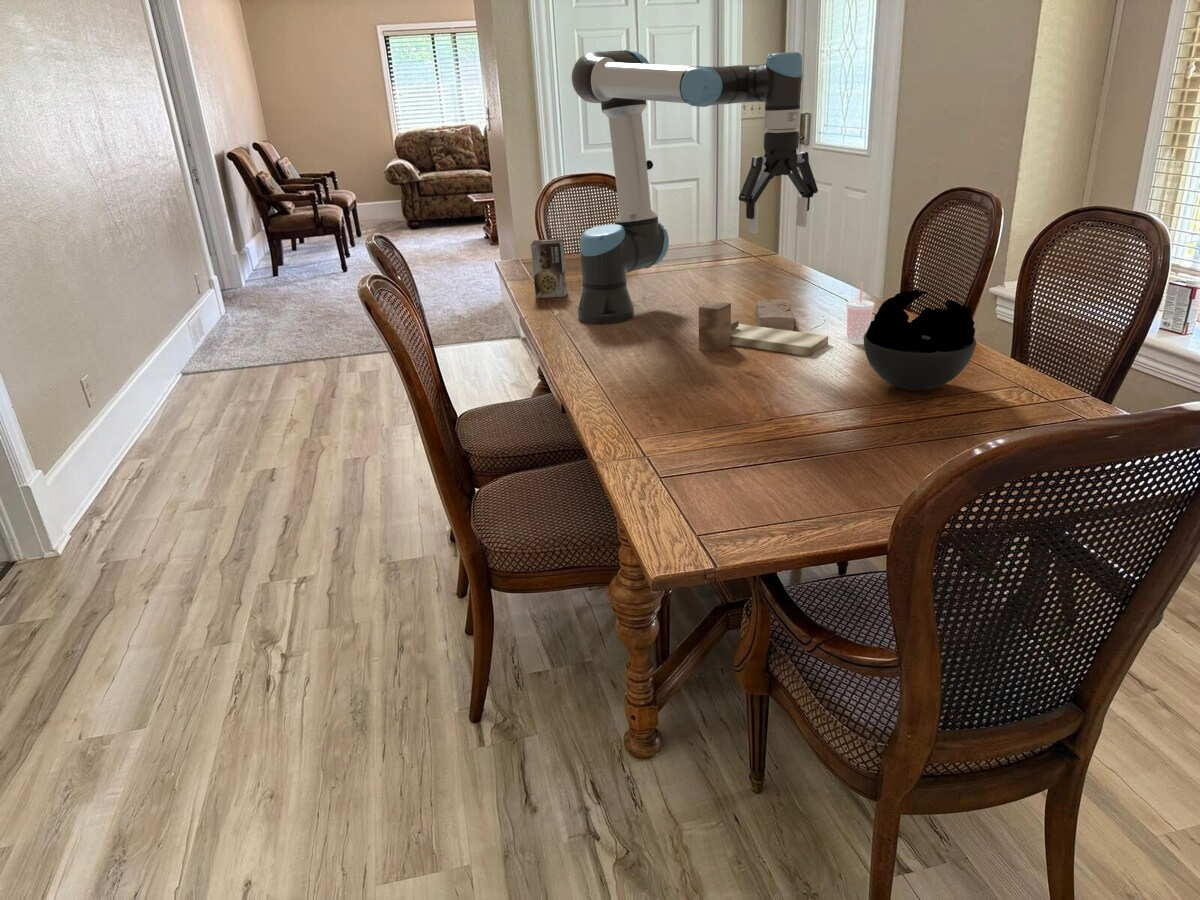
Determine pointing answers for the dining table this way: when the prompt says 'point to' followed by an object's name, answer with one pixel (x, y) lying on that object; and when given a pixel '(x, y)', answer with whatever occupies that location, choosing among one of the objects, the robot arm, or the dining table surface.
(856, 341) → the beverage cup
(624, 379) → the dining table surface
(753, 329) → the board
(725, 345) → the brown block with handle
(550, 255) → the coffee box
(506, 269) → the dining table surface
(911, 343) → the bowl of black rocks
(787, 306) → the brick
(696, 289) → the dining table surface
